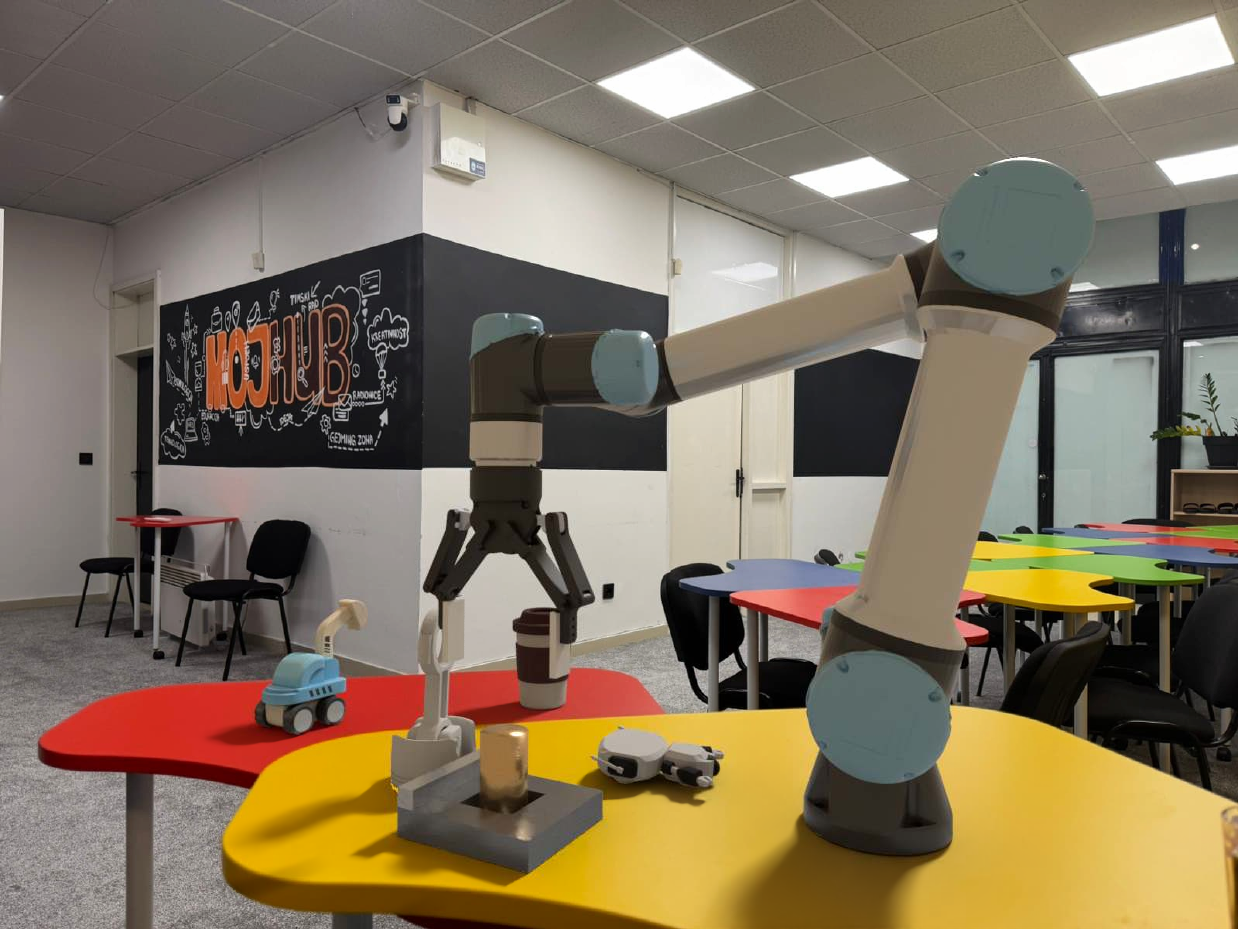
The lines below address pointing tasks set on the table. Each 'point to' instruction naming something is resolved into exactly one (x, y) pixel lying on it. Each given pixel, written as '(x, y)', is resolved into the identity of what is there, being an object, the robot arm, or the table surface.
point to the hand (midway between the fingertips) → (504, 668)
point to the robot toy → (656, 758)
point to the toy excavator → (310, 679)
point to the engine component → (431, 717)
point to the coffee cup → (537, 661)
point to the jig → (494, 816)
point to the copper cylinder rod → (503, 768)
